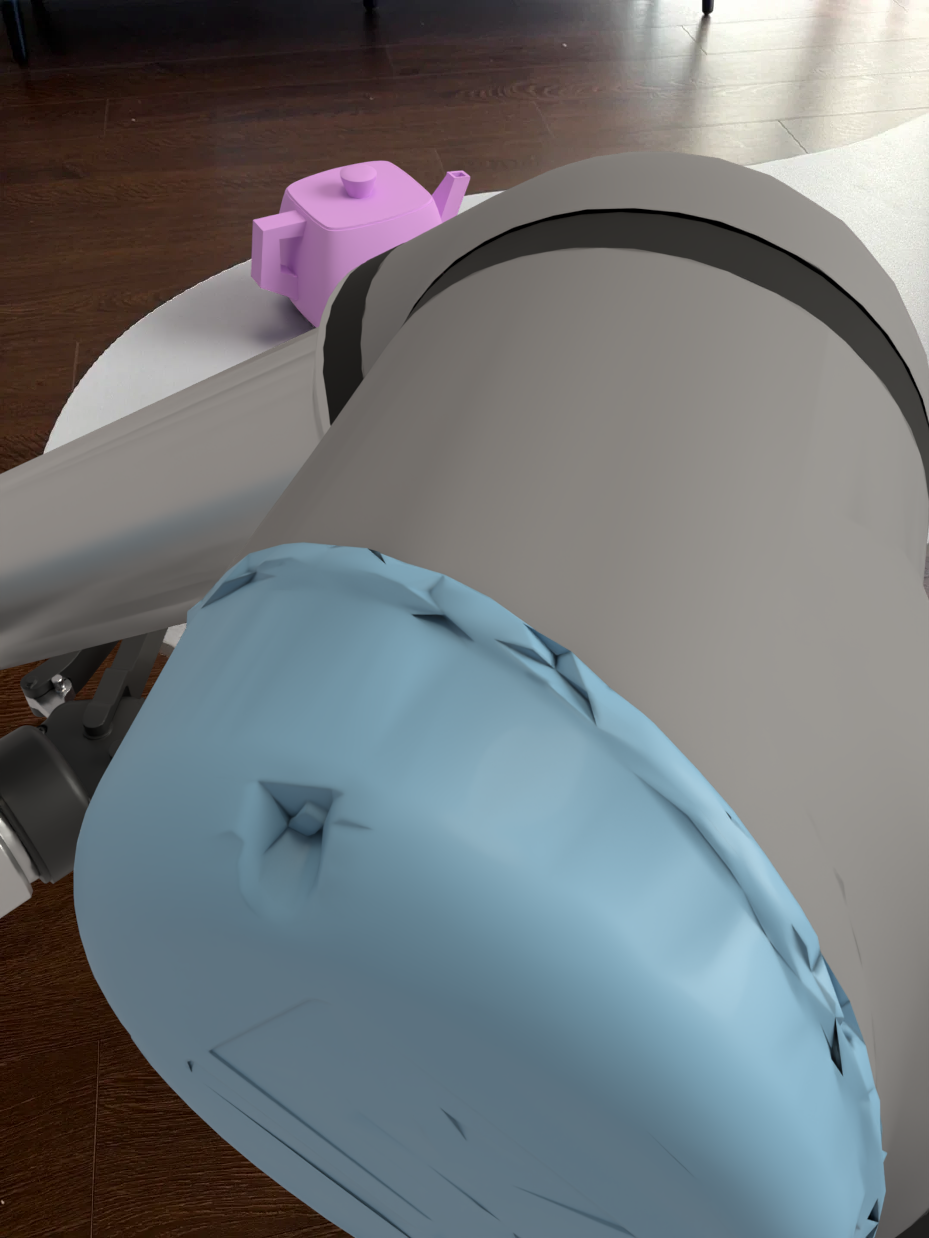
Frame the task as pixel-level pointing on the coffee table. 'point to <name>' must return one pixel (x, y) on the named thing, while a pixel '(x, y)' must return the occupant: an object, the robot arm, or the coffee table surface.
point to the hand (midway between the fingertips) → (339, 614)
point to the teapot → (344, 227)
